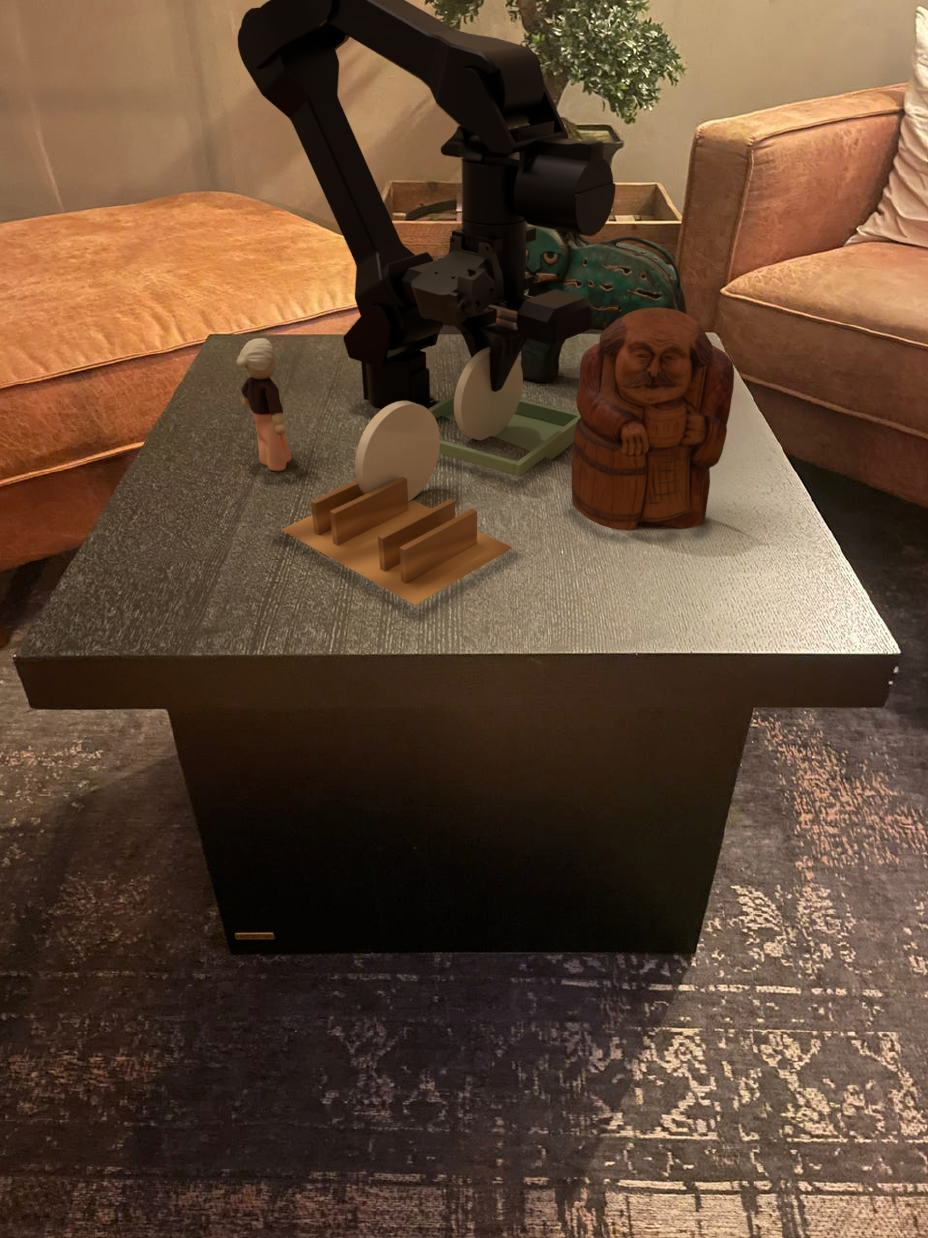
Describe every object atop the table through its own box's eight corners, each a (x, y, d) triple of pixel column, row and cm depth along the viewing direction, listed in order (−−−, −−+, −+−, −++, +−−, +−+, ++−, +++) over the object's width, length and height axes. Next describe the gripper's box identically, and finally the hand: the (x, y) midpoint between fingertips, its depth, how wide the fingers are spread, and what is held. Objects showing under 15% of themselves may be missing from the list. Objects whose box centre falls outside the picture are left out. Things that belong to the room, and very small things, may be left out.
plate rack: (282, 539, 77) (276, 497, 75) (378, 493, 83) (376, 453, 81) (415, 615, 68) (413, 570, 66) (512, 557, 75) (513, 514, 72)
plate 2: (456, 451, 90) (450, 364, 84) (516, 417, 94) (514, 332, 89) (463, 454, 89) (458, 367, 83) (523, 420, 94) (522, 335, 88)
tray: (395, 448, 91) (394, 429, 90) (467, 403, 100) (467, 385, 98) (519, 486, 84) (519, 465, 83) (584, 434, 93) (586, 414, 92)
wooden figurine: (572, 539, 77) (589, 325, 66) (567, 502, 82) (581, 298, 71) (714, 540, 77) (754, 326, 66) (699, 503, 82) (734, 298, 71)
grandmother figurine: (316, 476, 86) (301, 343, 79) (283, 490, 84) (265, 355, 76) (266, 451, 90) (247, 323, 83) (233, 464, 88) (211, 333, 81)
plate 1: (337, 462, 73) (404, 377, 75) (386, 522, 81) (446, 445, 82) (345, 465, 73) (412, 381, 74) (394, 526, 80) (454, 448, 82)
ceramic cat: (502, 378, 105) (506, 190, 94) (529, 361, 110) (536, 179, 98) (665, 416, 97) (693, 213, 85) (687, 395, 101) (716, 200, 90)
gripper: (353, 215, 80) (364, 386, 89) (516, 255, 70) (510, 444, 79) (442, 195, 87) (444, 356, 96) (603, 228, 76) (588, 405, 85)
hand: (491, 388), depth 89 cm, fingers closed on plate 2
